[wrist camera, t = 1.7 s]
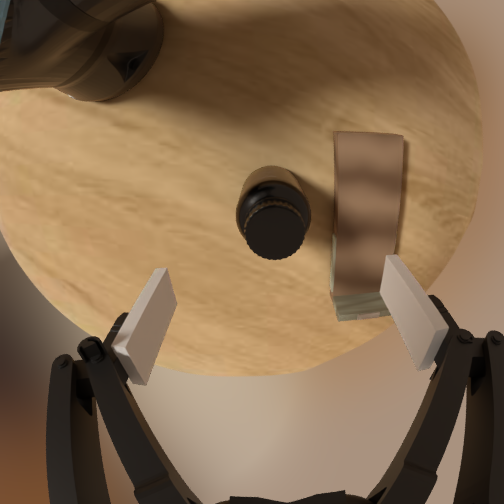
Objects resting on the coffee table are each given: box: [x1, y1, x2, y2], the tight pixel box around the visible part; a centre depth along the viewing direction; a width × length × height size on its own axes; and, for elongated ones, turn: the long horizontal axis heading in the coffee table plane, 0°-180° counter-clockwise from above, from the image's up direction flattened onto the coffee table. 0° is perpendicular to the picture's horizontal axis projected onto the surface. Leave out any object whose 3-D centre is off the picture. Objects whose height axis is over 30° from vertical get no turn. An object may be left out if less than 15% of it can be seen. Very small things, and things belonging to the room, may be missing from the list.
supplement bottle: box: [236, 166, 311, 260], centre depth 27 cm, size 7×7×12 cm
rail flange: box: [330, 131, 403, 321], centre depth 30 cm, size 22×8×6 cm, turn 5°
